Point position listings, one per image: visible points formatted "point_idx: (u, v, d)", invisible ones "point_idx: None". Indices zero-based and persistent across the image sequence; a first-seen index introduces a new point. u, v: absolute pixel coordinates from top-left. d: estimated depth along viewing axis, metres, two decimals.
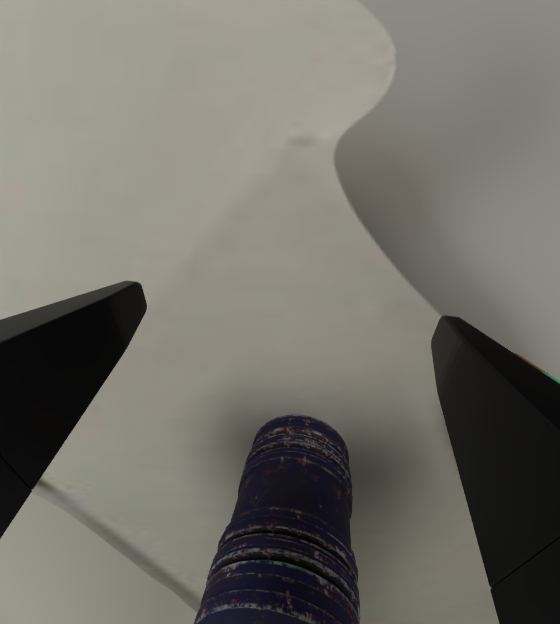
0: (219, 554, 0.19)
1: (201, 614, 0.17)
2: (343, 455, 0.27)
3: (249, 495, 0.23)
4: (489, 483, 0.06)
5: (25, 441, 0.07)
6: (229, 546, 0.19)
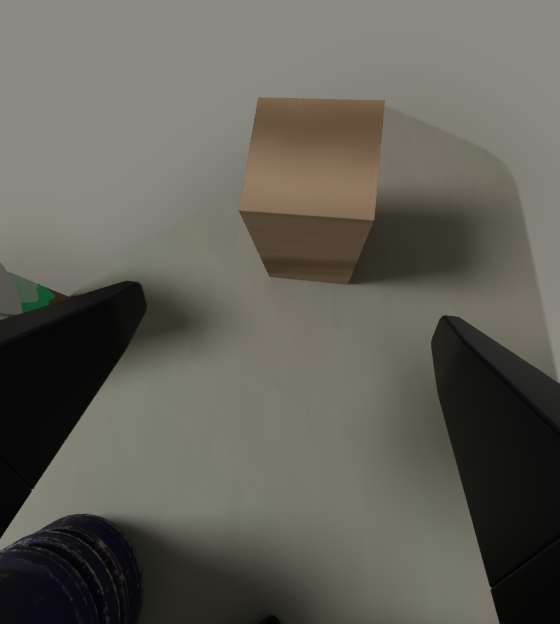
0: None
1: None
2: (42, 531, 0.20)
3: None
4: (489, 483, 0.06)
5: (25, 441, 0.07)
6: None
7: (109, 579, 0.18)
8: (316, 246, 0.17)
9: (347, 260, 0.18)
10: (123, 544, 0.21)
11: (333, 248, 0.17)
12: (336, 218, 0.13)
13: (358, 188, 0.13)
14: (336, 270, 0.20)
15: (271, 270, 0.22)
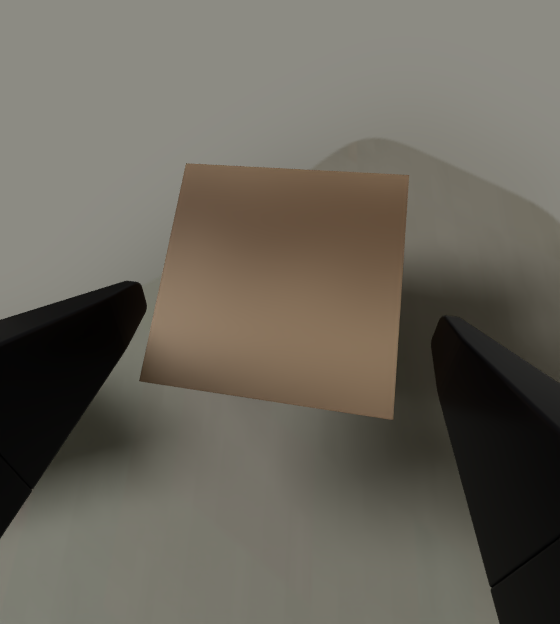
0: None
1: None
2: None
3: None
4: (489, 483, 0.06)
5: (25, 441, 0.07)
6: None
7: None
8: None
9: None
10: None
11: None
12: (319, 408, 0.07)
13: (361, 349, 0.07)
14: None
15: None
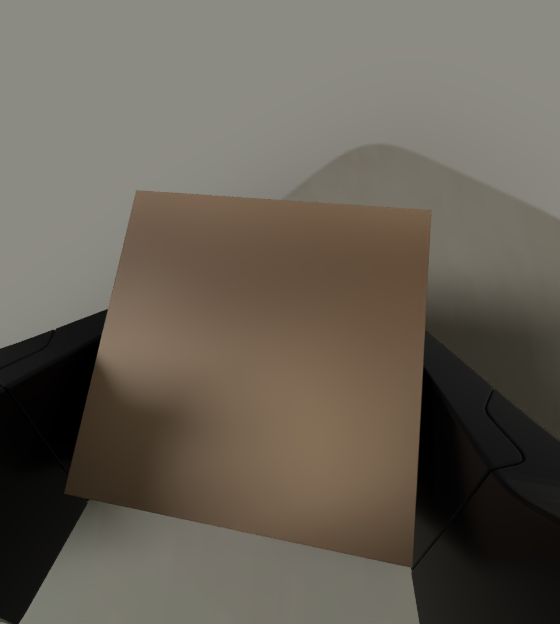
0: None
1: None
2: None
3: None
4: None
5: None
6: None
7: None
8: None
9: None
10: None
11: None
12: (308, 542, 0.05)
13: (368, 459, 0.05)
14: None
15: None
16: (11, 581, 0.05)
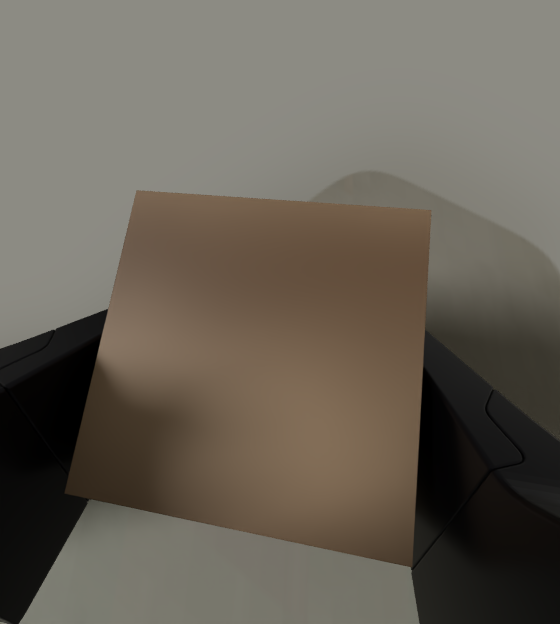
0: None
1: None
2: None
3: None
4: None
5: None
6: None
7: None
8: None
9: None
10: None
11: None
12: (308, 541, 0.05)
13: (368, 459, 0.05)
14: None
15: None
16: (11, 581, 0.05)
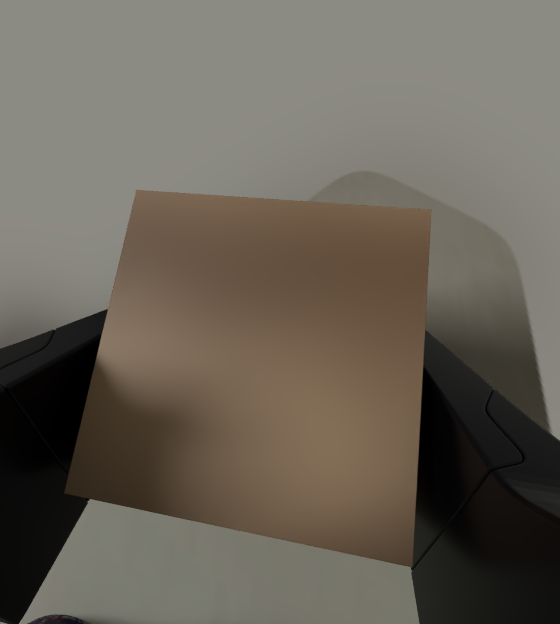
0: None
1: None
2: None
3: None
4: None
5: None
6: None
7: None
8: None
9: None
10: None
11: None
12: (307, 542, 0.05)
13: (367, 459, 0.05)
14: None
15: None
16: (11, 581, 0.05)
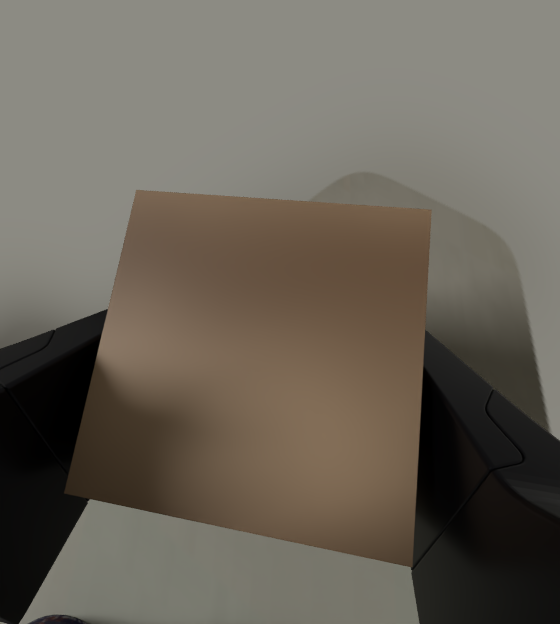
0: None
1: None
2: None
3: None
4: None
5: None
6: None
7: None
8: None
9: None
10: None
11: None
12: (307, 542, 0.05)
13: (368, 460, 0.05)
14: None
15: None
16: (11, 581, 0.05)
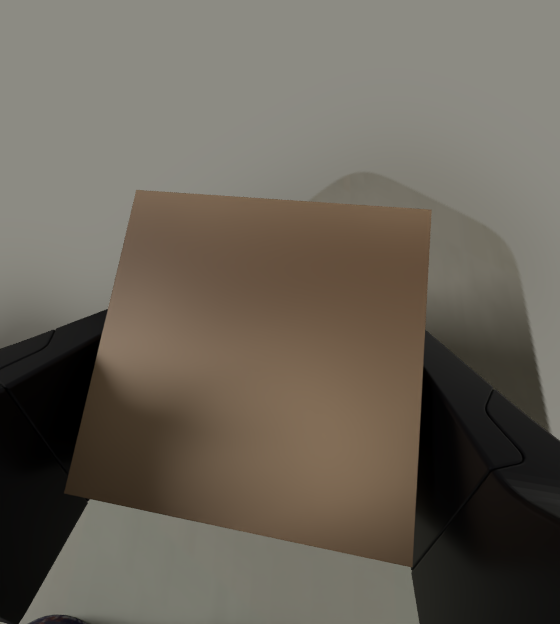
0: None
1: None
2: None
3: None
4: None
5: None
6: None
7: None
8: None
9: None
10: None
11: None
12: (307, 542, 0.05)
13: (368, 459, 0.05)
14: None
15: None
16: (11, 581, 0.05)
